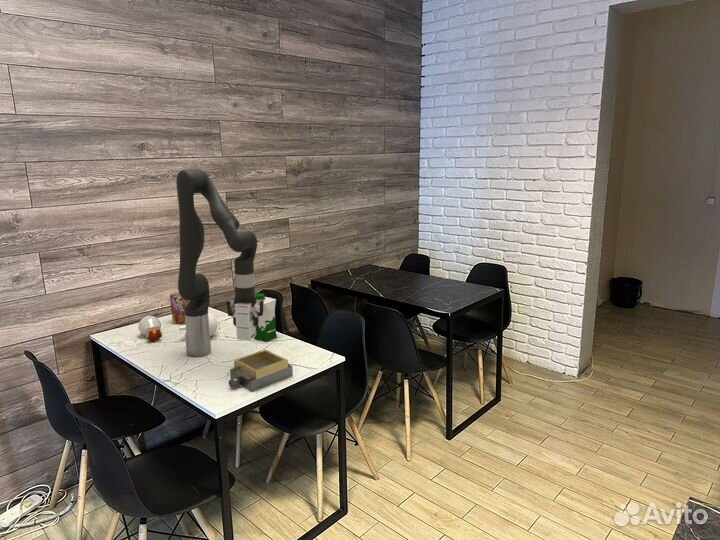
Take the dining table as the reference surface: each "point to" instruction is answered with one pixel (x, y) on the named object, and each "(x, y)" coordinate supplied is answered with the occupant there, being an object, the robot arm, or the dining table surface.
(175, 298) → the candy box
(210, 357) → the dining table surface
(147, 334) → the potion bottle
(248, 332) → the syrup box
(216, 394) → the dining table surface
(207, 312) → the robot arm
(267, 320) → the milk carton
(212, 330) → the piggy bank
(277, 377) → the wooden drawer tray
